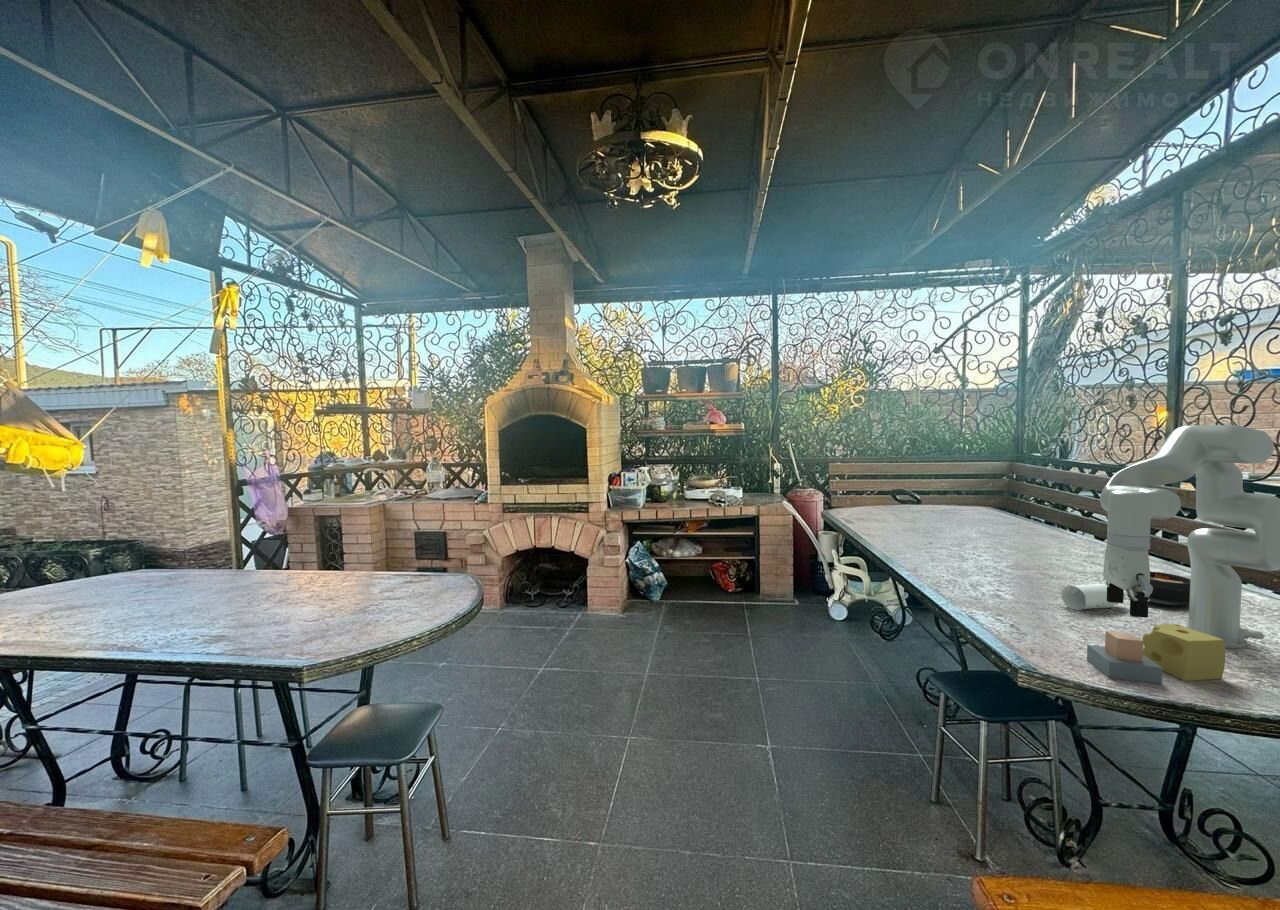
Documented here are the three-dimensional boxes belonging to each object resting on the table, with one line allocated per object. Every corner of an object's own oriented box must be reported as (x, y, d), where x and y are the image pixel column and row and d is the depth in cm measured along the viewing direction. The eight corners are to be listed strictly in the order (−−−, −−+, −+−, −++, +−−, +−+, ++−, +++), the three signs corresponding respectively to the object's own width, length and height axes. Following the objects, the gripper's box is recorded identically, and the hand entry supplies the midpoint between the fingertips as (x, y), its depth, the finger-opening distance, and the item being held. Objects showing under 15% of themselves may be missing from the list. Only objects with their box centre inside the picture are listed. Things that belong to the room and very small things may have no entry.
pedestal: (1135, 665, 126) (1136, 649, 126) (1161, 684, 117) (1162, 667, 117) (1086, 659, 130) (1087, 644, 129) (1108, 677, 120) (1109, 661, 120)
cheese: (1138, 662, 128) (1140, 624, 128) (1176, 660, 129) (1178, 622, 129) (1186, 682, 118) (1188, 641, 117) (1227, 680, 119) (1229, 639, 118)
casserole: (1140, 587, 188) (1141, 565, 187) (1213, 602, 171) (1214, 578, 171) (1111, 598, 176) (1112, 575, 176) (1186, 615, 160) (1187, 589, 159)
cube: (1104, 649, 126) (1105, 630, 126) (1129, 652, 125) (1130, 633, 124) (1116, 658, 122) (1117, 638, 121) (1142, 661, 120) (1143, 641, 120)
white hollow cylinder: (1132, 610, 165) (1134, 586, 164) (1084, 613, 162) (1085, 589, 161) (1107, 602, 172) (1108, 579, 172) (1060, 605, 170) (1061, 582, 169)
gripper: (1090, 532, 131) (1089, 596, 132) (1130, 548, 115) (1128, 621, 116) (1126, 533, 129) (1124, 598, 130) (1172, 550, 112) (1169, 624, 113)
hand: (1126, 609), depth 123 cm, fingers open, 9 cm apart
